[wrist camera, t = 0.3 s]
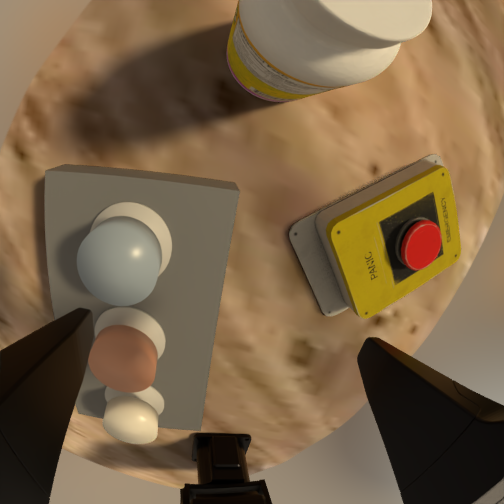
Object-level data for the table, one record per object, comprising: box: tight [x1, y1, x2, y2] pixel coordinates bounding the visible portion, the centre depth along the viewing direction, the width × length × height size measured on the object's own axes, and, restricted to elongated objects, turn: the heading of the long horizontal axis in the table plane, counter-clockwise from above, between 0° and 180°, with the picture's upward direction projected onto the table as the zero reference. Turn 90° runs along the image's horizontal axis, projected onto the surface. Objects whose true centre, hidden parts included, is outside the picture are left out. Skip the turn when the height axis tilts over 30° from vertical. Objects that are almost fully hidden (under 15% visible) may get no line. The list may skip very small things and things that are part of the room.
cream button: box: [103, 396, 159, 444], centre depth 20 cm, size 4×4×2 cm
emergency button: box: [289, 154, 461, 319], centre depth 22 cm, size 9×4×15 cm
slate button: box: [77, 216, 162, 306], centre depth 15 cm, size 4×4×2 cm
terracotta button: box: [88, 325, 158, 393], centre depth 17 cm, size 4×4×2 cm
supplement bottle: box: [226, 0, 432, 102], centre depth 11 cm, size 7×7×13 cm
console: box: [45, 164, 240, 431], centre depth 21 cm, size 22×12×3 cm, turn 169°
